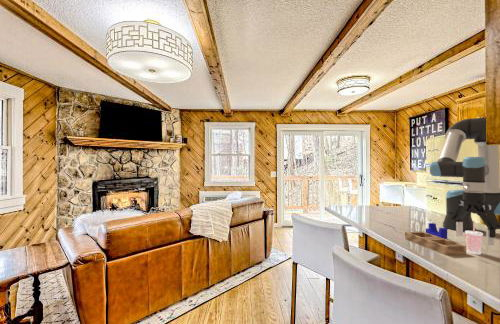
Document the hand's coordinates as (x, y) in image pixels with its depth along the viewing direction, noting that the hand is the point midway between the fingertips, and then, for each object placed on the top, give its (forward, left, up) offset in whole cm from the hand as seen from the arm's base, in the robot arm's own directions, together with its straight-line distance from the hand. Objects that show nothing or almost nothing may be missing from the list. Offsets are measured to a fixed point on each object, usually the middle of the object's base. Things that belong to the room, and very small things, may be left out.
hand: (473, 240), depth 114 cm
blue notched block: (-5, -25, -6) cm, 26 cm away
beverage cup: (0, 0, -6) cm, 6 cm away
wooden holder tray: (+10, -11, -5) cm, 16 cm away
